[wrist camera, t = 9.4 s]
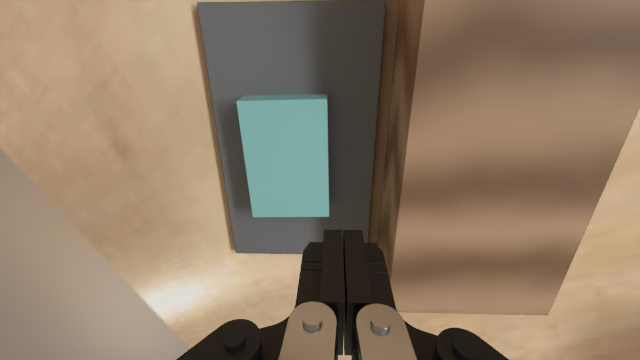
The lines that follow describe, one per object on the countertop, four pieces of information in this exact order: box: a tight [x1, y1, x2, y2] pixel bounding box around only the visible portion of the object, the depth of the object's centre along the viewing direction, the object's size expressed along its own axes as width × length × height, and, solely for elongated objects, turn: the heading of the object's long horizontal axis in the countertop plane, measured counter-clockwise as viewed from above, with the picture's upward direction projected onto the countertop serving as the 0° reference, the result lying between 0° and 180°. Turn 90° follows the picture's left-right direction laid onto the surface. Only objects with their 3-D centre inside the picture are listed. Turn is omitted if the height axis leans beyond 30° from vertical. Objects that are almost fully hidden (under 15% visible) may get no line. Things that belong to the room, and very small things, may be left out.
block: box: [236, 94, 329, 217], centre depth 23 cm, size 9×6×2 cm, turn 2°
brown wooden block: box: [377, 0, 640, 315], centre depth 21 cm, size 22×12×6 cm, turn 0°
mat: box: [197, 0, 386, 254], centre depth 24 cm, size 20×12×1 cm, turn 0°
